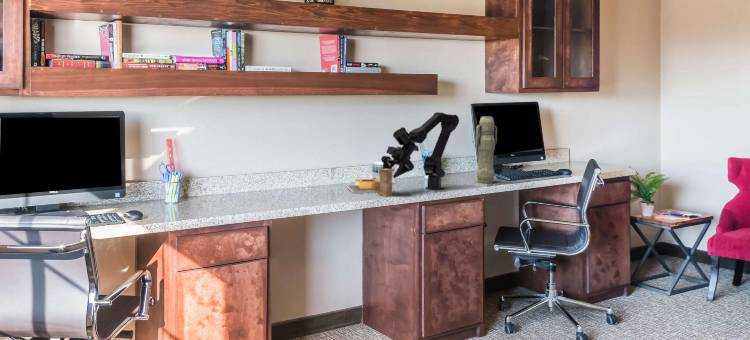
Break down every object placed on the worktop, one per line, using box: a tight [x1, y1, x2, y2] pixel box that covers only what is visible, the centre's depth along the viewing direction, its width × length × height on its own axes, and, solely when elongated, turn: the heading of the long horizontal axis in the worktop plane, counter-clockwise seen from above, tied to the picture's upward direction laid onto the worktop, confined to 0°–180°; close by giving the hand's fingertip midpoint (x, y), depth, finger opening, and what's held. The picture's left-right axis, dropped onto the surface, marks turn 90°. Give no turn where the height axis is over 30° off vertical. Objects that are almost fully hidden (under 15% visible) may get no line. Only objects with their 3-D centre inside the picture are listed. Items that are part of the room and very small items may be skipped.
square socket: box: [346, 178, 380, 194], centre depth 342 cm, size 18×18×5 cm
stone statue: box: [475, 115, 498, 185], centre depth 370 cm, size 9×12×35 cm
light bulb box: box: [371, 161, 397, 184], centre depth 367 cm, size 11×7×11 cm, turn 123°
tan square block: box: [379, 169, 393, 196], centre depth 328 cm, size 4×4×12 cm
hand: (387, 176), depth 328 cm, fingers open, 9 cm apart
